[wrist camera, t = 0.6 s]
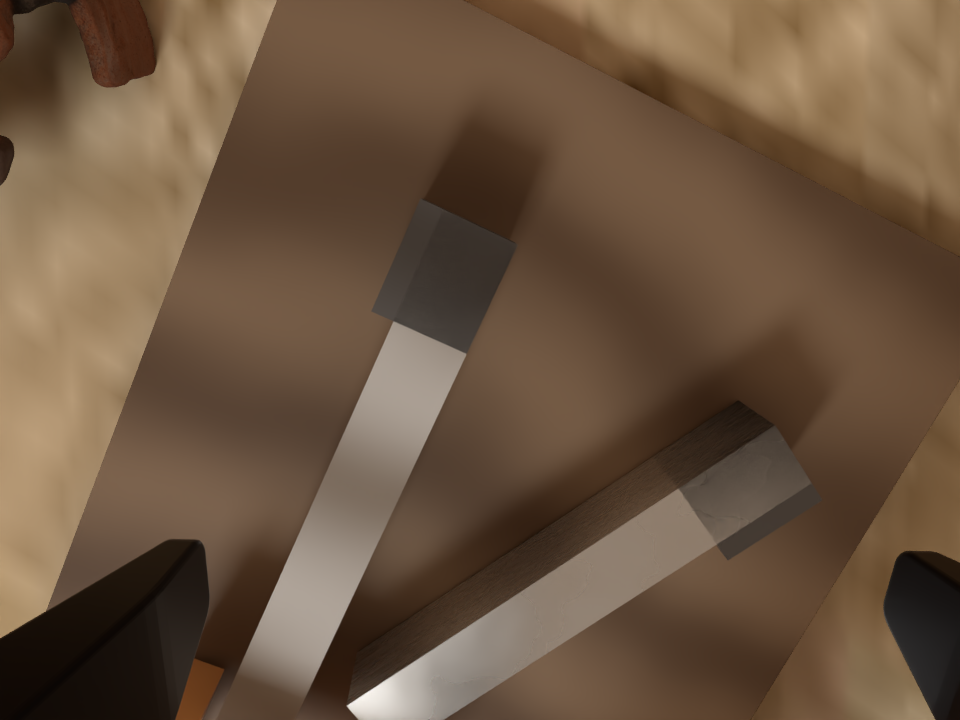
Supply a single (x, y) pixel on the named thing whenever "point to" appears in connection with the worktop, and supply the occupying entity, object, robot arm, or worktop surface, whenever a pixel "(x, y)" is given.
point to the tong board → (500, 363)
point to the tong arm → (586, 567)
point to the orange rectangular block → (199, 690)
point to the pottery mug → (91, 44)
